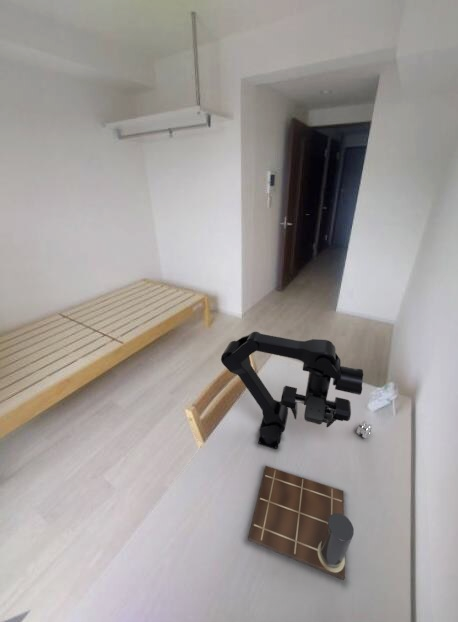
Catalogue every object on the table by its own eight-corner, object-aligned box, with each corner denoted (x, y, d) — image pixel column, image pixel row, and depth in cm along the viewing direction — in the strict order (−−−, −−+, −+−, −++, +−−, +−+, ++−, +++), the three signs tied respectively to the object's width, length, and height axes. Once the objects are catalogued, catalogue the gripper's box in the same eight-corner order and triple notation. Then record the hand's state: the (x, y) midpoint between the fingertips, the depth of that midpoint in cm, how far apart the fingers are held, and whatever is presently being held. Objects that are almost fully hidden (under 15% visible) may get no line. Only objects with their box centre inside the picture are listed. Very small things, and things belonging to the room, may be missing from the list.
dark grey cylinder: (316, 556, 62) (324, 528, 56) (324, 535, 66) (333, 507, 60) (337, 574, 60) (349, 547, 53) (345, 552, 63) (357, 524, 57)
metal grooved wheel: (362, 427, 95) (365, 417, 92) (371, 433, 92) (374, 423, 90) (355, 435, 92) (358, 425, 89) (363, 441, 90) (367, 431, 87)
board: (248, 540, 66) (248, 537, 66) (265, 468, 82) (265, 465, 81) (343, 580, 60) (345, 577, 59) (342, 493, 76) (343, 490, 75)
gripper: (279, 395, 70) (275, 435, 78) (357, 414, 65) (344, 455, 72) (286, 369, 79) (281, 406, 87) (354, 383, 74) (343, 422, 81)
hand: (311, 422), depth 81 cm, fingers open, 9 cm apart
